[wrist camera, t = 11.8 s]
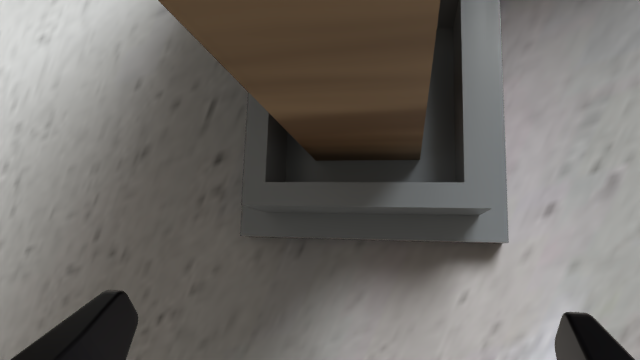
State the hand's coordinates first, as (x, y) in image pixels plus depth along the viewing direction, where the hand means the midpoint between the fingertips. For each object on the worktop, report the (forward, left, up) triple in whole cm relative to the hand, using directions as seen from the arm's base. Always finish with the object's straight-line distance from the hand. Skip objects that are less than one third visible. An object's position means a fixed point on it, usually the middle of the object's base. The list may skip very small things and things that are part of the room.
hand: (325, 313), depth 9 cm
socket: (+7, 0, -8) cm, 11 cm away
